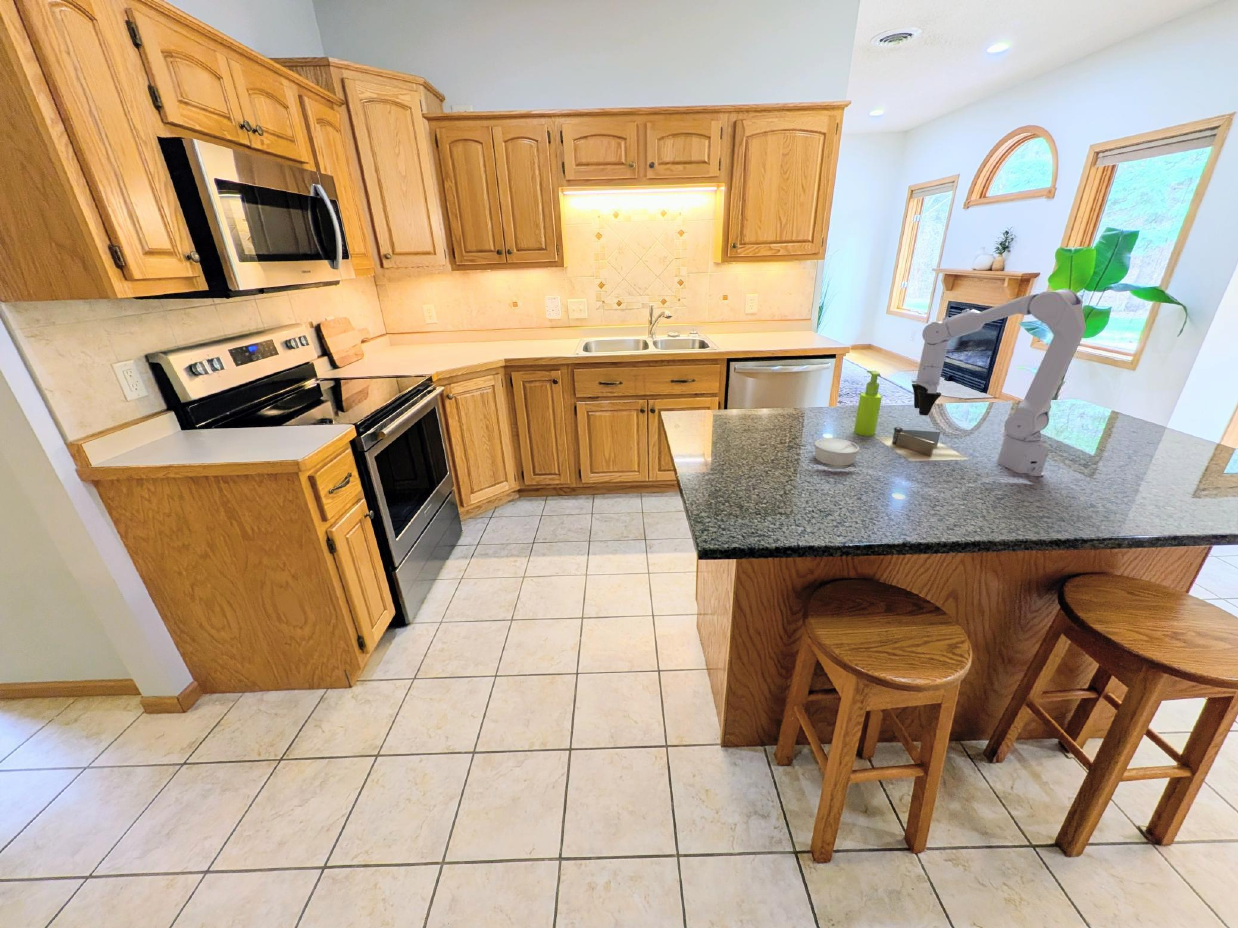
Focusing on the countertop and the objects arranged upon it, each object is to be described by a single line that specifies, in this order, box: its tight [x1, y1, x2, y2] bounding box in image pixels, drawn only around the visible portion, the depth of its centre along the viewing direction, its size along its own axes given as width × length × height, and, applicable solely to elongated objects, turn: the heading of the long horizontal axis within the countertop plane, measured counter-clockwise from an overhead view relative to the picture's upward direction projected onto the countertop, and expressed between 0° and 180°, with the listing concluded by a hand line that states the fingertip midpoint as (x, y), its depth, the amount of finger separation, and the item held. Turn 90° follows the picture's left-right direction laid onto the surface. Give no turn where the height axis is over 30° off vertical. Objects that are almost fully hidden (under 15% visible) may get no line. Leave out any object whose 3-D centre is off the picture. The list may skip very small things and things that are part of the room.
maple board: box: [874, 436, 970, 462], centre depth 142 cm, size 19×16×1 cm
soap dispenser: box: [853, 370, 883, 436], centre depth 151 cm, size 6×7×20 cm
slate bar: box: [901, 428, 941, 445], centre depth 143 cm, size 10×1×4 cm, turn 77°
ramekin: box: [813, 437, 860, 470], centre depth 135 cm, size 11×11×5 cm
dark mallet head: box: [892, 426, 935, 457], centre depth 140 cm, size 12×2×5 cm, turn 27°
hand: (920, 411), depth 146 cm, fingers open, 7 cm apart
